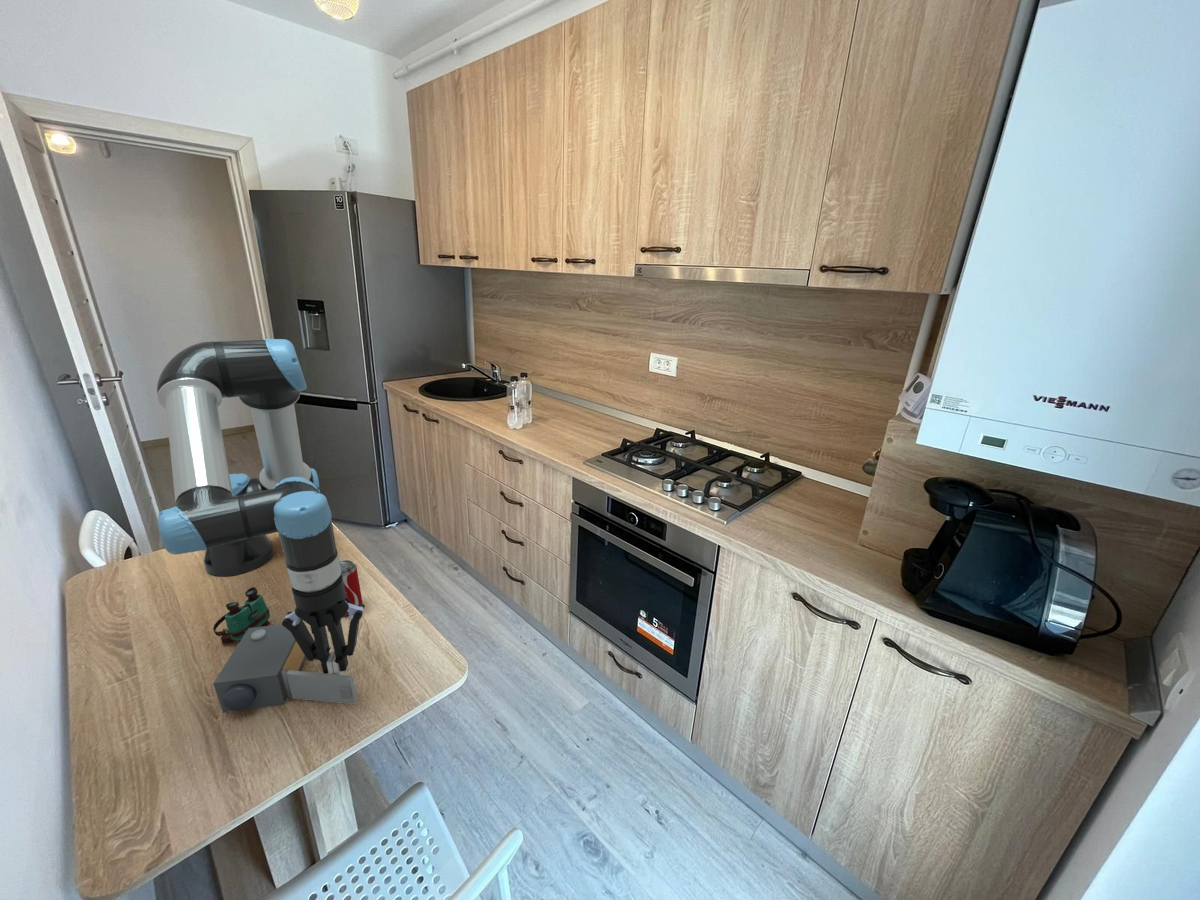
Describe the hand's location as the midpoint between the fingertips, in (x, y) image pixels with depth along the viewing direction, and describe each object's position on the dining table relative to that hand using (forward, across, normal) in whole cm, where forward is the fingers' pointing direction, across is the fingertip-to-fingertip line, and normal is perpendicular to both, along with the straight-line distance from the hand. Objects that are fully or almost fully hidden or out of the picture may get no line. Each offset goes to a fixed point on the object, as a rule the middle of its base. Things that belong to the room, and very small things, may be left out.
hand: (339, 682), depth 91 cm
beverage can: (+4, -4, +25) cm, 26 cm away
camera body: (+3, -14, +6) cm, 16 cm away
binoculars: (+4, -24, +21) cm, 32 cm away
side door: (+3, -3, -2) cm, 4 cm away
